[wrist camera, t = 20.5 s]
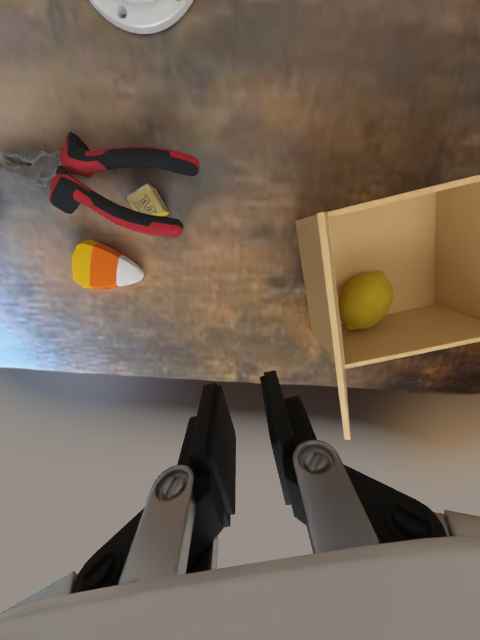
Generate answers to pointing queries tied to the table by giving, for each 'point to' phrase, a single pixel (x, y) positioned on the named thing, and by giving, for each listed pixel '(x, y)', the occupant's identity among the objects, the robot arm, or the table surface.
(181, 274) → the table surface
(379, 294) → the lemon
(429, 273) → the carton
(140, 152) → the pliers
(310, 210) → the table surface
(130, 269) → the candy corn
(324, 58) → the table surface
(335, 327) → the flap
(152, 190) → the alphabet block
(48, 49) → the table surface
